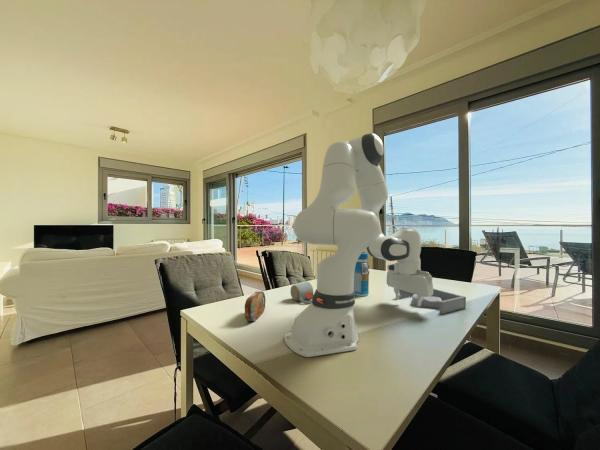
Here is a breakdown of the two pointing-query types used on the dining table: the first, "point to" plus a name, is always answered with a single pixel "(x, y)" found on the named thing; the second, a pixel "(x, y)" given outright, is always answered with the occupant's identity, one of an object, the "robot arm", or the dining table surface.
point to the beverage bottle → (361, 276)
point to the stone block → (427, 301)
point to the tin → (254, 306)
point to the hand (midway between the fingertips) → (408, 302)
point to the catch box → (444, 300)
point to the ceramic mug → (301, 292)
